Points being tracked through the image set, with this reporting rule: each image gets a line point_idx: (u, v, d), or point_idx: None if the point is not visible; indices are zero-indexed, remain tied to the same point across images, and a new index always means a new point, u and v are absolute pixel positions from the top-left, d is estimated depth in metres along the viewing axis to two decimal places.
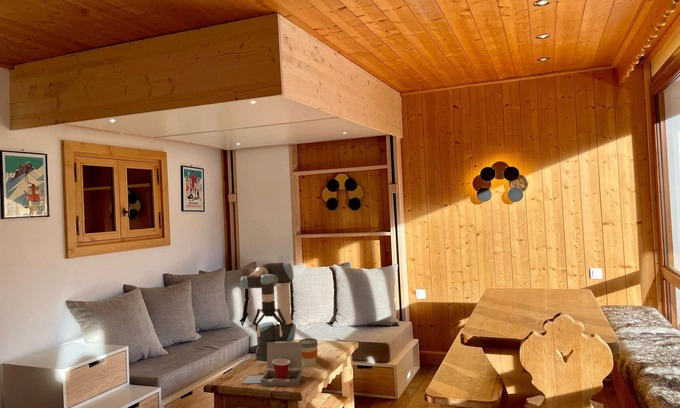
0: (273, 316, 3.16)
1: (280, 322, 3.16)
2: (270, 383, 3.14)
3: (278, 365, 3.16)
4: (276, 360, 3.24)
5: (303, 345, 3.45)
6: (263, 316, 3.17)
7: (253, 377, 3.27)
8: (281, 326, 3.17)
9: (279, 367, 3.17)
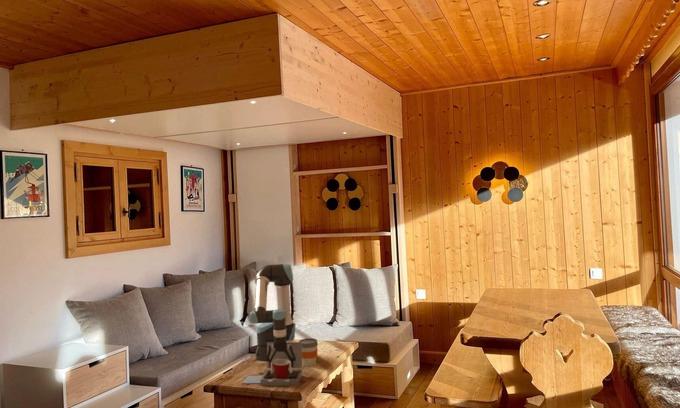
0: (284, 352, 3.19)
1: (290, 358, 3.19)
2: (270, 383, 3.14)
3: (278, 365, 3.16)
4: (276, 360, 3.24)
5: (303, 345, 3.45)
6: (275, 352, 3.19)
7: (253, 377, 3.27)
8: (291, 362, 3.20)
9: (279, 367, 3.17)
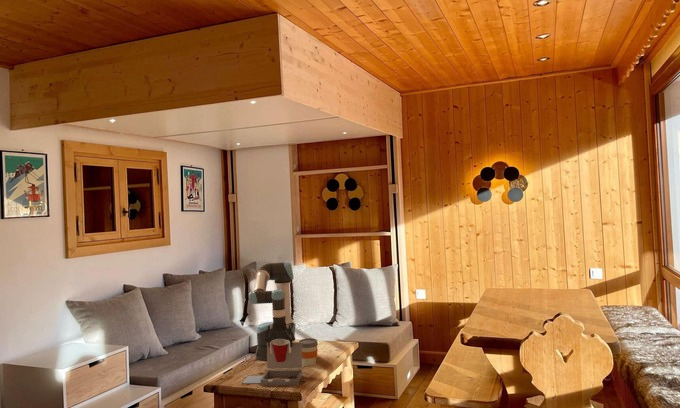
0: (283, 332, 3.19)
1: (289, 338, 3.19)
2: (270, 383, 3.14)
3: (277, 345, 3.16)
4: (275, 340, 3.24)
5: (303, 345, 3.45)
6: (275, 332, 3.19)
7: (253, 377, 3.27)
8: None
9: (278, 347, 3.17)
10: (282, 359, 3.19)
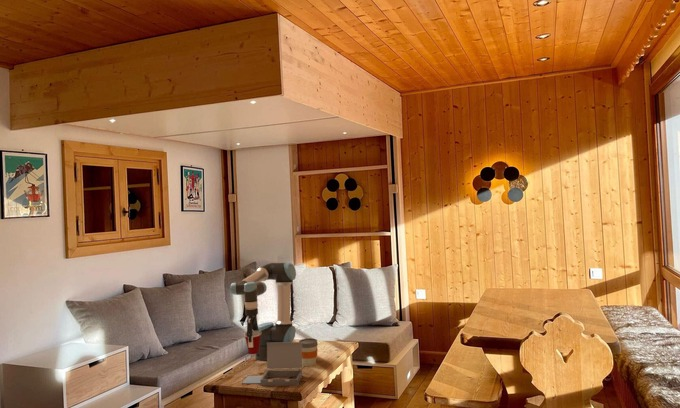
0: None
1: None
2: (270, 383, 3.14)
3: None
4: (259, 332, 3.27)
5: (303, 345, 3.45)
6: None
7: (253, 377, 3.27)
8: (248, 337, 3.17)
9: None
10: (248, 350, 3.22)
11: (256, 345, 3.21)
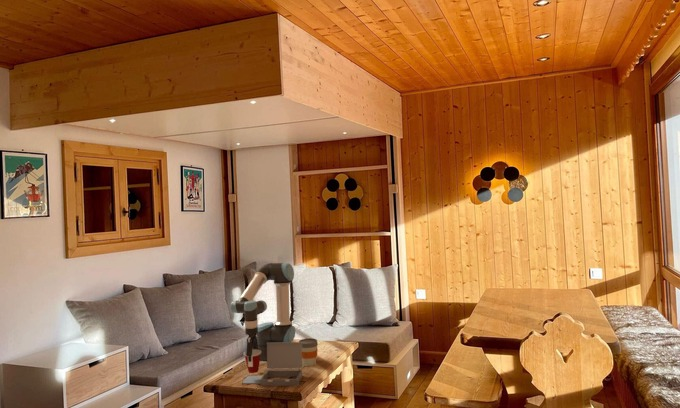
0: None
1: None
2: (270, 383, 3.14)
3: None
4: (259, 351, 3.27)
5: (303, 345, 3.45)
6: None
7: (253, 377, 3.27)
8: None
9: None
10: (248, 369, 3.22)
11: (256, 364, 3.21)
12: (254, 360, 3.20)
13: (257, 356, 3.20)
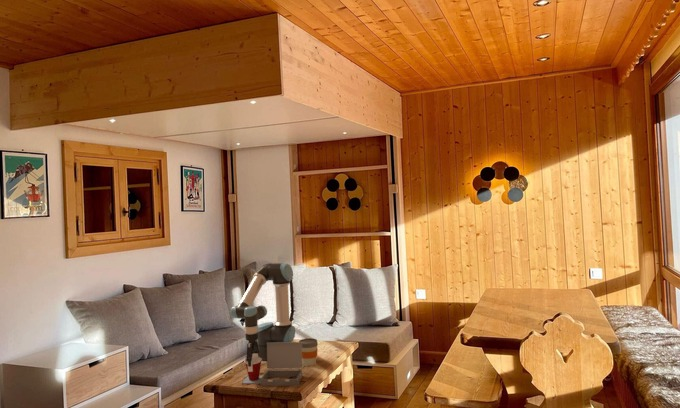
0: None
1: None
2: (270, 383, 3.14)
3: None
4: (259, 358, 3.27)
5: (303, 345, 3.45)
6: None
7: None
8: (248, 361, 3.16)
9: None
10: None
11: (256, 372, 3.21)
12: (255, 368, 3.20)
13: (258, 364, 3.21)
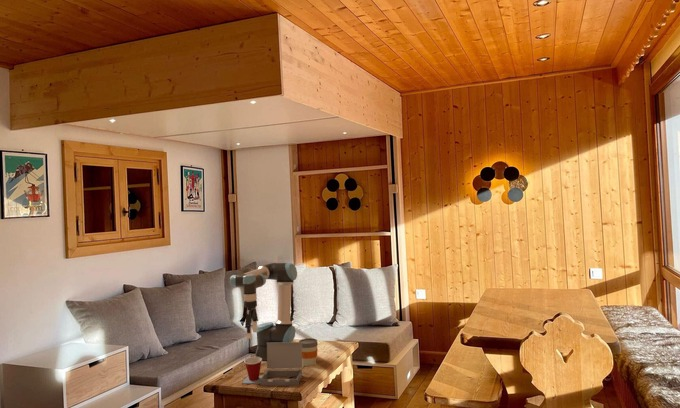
0: None
1: None
2: (270, 383, 3.14)
3: None
4: (259, 358, 3.27)
5: (303, 345, 3.45)
6: None
7: None
8: (247, 328, 3.17)
9: None
10: None
11: (256, 372, 3.21)
12: (255, 368, 3.20)
13: (258, 364, 3.21)
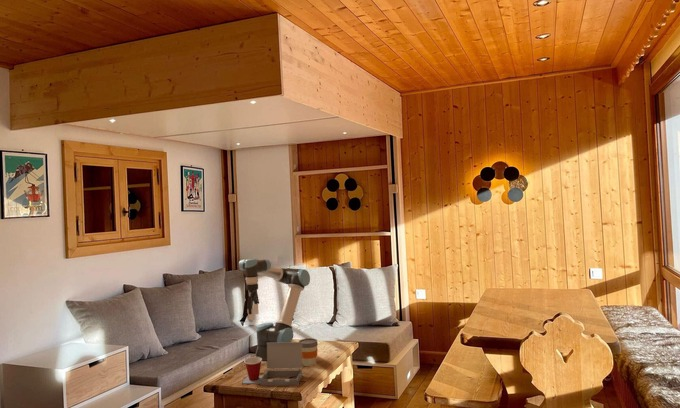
0: None
1: None
2: (270, 383, 3.14)
3: None
4: (259, 358, 3.27)
5: (303, 345, 3.45)
6: None
7: None
8: (249, 310, 3.33)
9: None
10: None
11: (256, 372, 3.21)
12: (255, 368, 3.20)
13: (258, 364, 3.21)
